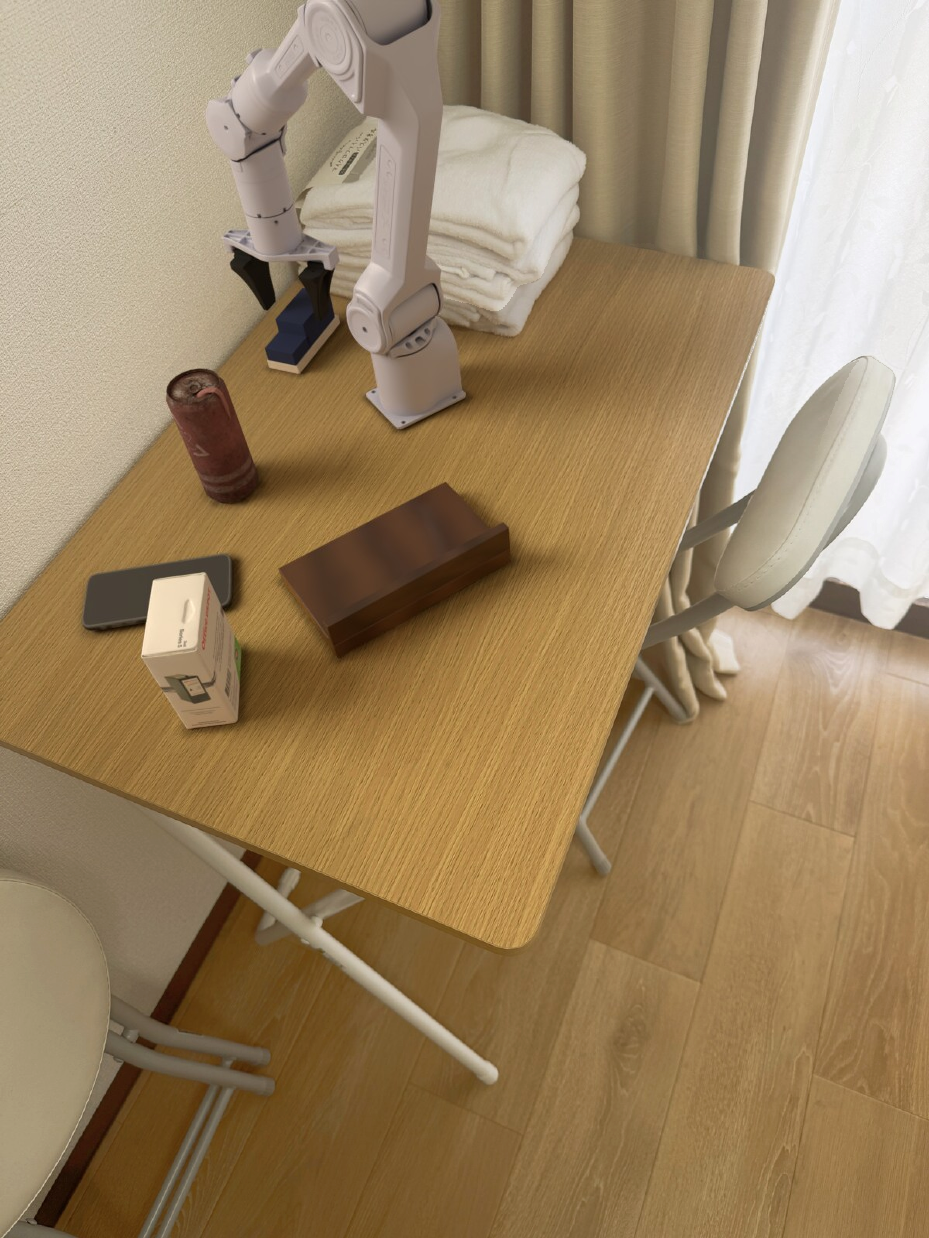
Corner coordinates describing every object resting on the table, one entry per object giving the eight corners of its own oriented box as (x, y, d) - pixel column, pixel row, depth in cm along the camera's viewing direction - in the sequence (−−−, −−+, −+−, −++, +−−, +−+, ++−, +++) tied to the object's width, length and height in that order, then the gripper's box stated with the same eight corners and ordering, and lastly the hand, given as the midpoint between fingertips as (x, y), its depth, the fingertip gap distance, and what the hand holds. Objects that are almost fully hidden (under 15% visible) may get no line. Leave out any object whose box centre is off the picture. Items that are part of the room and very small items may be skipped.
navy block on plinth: (310, 317, 121) (302, 285, 117) (340, 323, 119) (332, 290, 115) (269, 368, 115) (259, 335, 111) (299, 374, 113) (290, 341, 110)
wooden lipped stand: (447, 494, 98) (442, 460, 95) (511, 561, 92) (509, 527, 88) (282, 581, 93) (270, 548, 89) (338, 659, 86) (327, 627, 82)
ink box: (193, 654, 88) (149, 576, 79) (244, 648, 88) (206, 569, 79) (185, 730, 83) (137, 656, 74) (239, 724, 83) (198, 649, 74)
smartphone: (231, 605, 90) (79, 629, 90) (233, 610, 91) (82, 635, 91) (231, 550, 95) (86, 573, 94) (234, 556, 96) (90, 579, 95)
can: (251, 507, 100) (212, 406, 89) (197, 502, 101) (152, 402, 90) (269, 469, 103) (234, 367, 92) (217, 464, 104) (176, 363, 93)
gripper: (341, 195, 102) (362, 301, 113) (232, 179, 107) (262, 283, 117) (311, 228, 98) (336, 335, 109) (199, 210, 103) (233, 315, 114)
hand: (296, 310), depth 113 cm, fingers open, 7 cm apart
